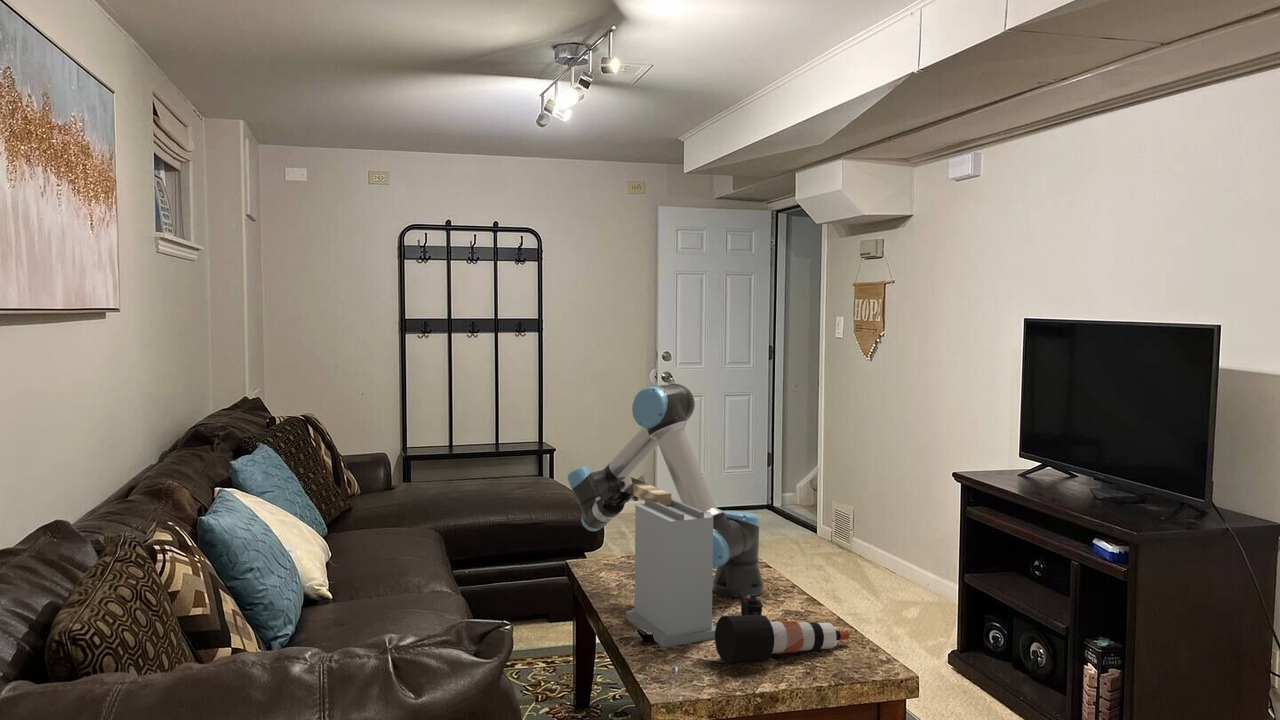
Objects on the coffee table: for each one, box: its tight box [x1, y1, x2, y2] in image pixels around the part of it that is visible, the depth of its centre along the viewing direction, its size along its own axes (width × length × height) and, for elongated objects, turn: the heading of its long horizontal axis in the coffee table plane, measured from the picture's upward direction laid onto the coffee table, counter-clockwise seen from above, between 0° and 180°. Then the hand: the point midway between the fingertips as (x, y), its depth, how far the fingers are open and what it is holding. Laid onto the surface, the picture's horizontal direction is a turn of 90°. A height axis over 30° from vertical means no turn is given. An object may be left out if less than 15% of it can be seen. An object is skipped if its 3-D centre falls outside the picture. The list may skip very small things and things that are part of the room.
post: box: [625, 497, 716, 648], centre depth 223 cm, size 22×16×32 cm
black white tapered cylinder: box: [714, 614, 851, 663], centre depth 207 cm, size 10×34×10 cm, turn 109°
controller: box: [737, 592, 763, 615], centre depth 224 cm, size 4×12×10 cm, turn 6°
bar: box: [617, 476, 672, 506], centre depth 239 cm, size 26×4×3 cm, turn 25°
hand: (637, 478), depth 241 cm, fingers closed on bar, 4 cm apart
